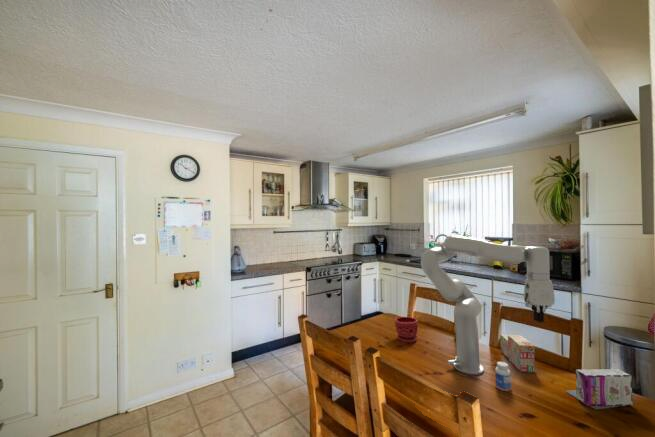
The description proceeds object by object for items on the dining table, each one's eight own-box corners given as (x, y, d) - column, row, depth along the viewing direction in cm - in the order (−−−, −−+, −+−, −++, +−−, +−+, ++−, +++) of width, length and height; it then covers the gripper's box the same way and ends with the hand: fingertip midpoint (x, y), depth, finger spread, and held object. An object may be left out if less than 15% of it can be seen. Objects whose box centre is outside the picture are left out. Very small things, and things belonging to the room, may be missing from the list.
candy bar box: (575, 397, 106) (619, 398, 106) (586, 406, 101) (633, 406, 101) (574, 368, 107) (619, 368, 106) (586, 375, 102) (632, 375, 101)
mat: (595, 409, 100) (595, 408, 100) (565, 392, 111) (565, 390, 111) (628, 405, 102) (628, 404, 102) (595, 388, 113) (595, 387, 113)
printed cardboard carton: (500, 351, 148) (499, 328, 149) (513, 352, 147) (512, 328, 148) (520, 371, 127) (519, 344, 128) (535, 372, 126) (534, 345, 127)
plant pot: (420, 337, 169) (420, 317, 170) (414, 345, 158) (414, 324, 159) (399, 333, 176) (399, 314, 177) (392, 341, 165) (392, 320, 166)
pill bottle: (492, 384, 118) (491, 360, 118) (504, 383, 118) (503, 360, 118) (502, 391, 112) (500, 367, 113) (514, 390, 113) (513, 366, 113)
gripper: (528, 278, 110) (529, 325, 110) (563, 278, 112) (563, 323, 111) (514, 275, 118) (514, 318, 118) (546, 274, 119) (547, 317, 119)
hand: (538, 321), depth 114 cm, fingers closed
